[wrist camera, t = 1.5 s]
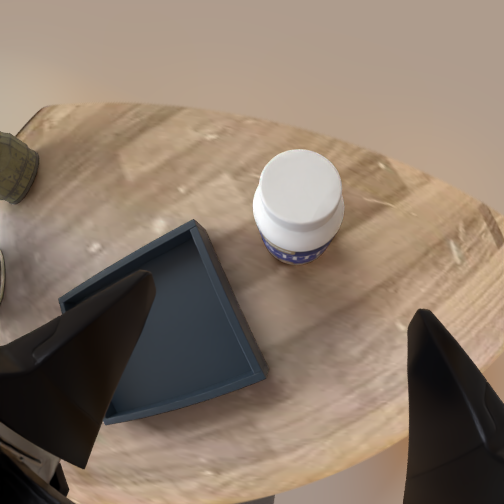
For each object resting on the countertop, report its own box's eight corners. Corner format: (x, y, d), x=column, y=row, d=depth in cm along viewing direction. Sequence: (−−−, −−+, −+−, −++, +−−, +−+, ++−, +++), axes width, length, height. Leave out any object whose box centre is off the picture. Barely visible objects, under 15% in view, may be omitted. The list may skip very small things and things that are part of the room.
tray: (269, 369, 19) (266, 378, 17) (121, 416, 20) (105, 425, 17) (205, 228, 22) (193, 218, 19) (76, 300, 23) (58, 298, 20)
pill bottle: (261, 265, 21) (240, 237, 12) (263, 200, 22) (246, 138, 13) (331, 266, 20) (359, 239, 11) (329, 200, 21) (349, 139, 12)
